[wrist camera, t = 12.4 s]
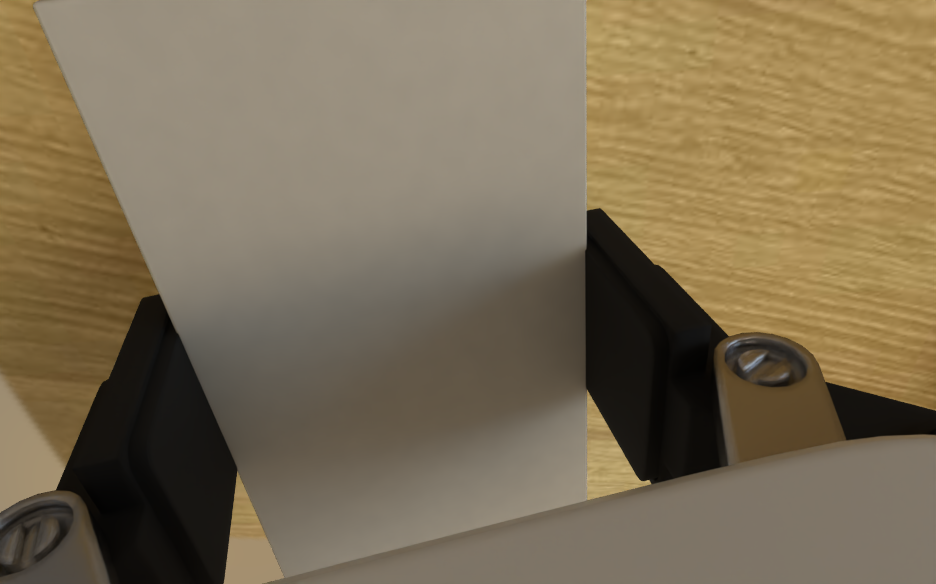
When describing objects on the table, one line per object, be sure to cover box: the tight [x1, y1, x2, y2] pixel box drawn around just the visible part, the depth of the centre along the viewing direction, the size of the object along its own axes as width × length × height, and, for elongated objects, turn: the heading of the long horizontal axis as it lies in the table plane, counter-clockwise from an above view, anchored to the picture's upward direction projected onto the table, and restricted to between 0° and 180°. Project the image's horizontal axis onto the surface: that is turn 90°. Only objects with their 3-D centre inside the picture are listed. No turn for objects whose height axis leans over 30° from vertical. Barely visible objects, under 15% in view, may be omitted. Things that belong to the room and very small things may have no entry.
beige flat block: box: [33, 0, 587, 578], centre depth 12 cm, size 12×6×2 cm, turn 6°
